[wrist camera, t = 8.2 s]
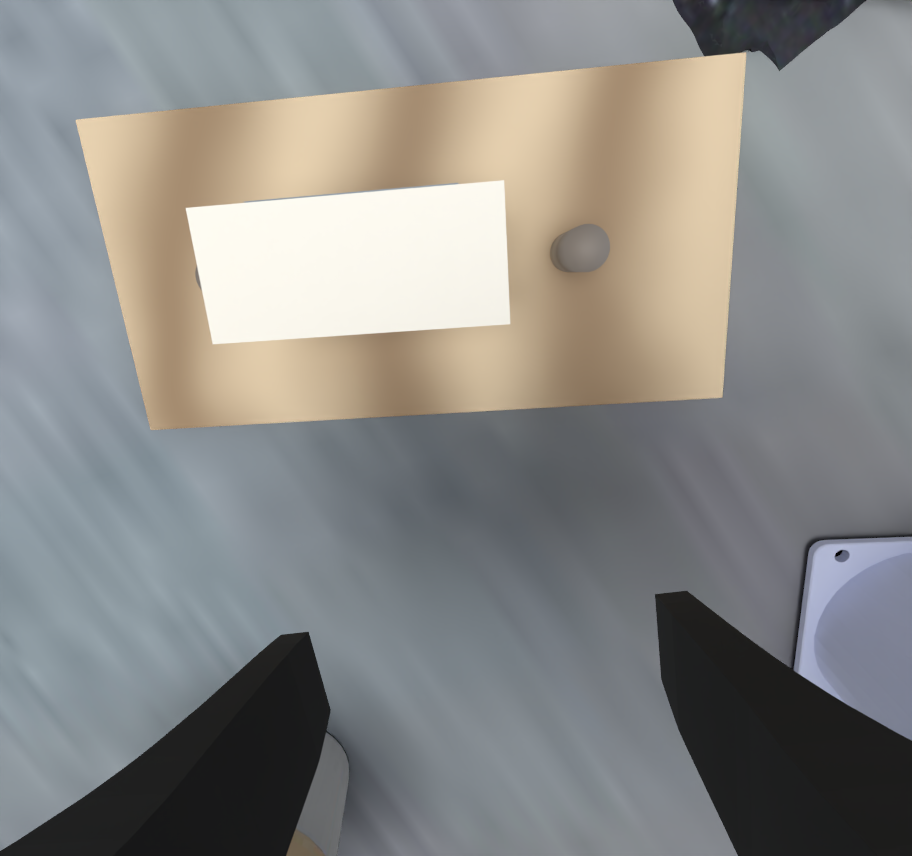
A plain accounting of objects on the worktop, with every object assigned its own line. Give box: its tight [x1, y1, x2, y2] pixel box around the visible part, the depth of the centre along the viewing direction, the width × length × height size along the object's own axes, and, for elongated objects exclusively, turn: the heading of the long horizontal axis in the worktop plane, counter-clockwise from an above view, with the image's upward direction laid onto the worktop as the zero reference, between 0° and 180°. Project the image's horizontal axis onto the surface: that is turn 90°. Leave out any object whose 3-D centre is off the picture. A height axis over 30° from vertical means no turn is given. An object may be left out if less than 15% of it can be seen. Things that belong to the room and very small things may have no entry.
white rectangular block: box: [186, 180, 510, 344], centre depth 14 cm, size 7×3×6 cm, turn 94°
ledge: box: [76, 52, 746, 430], centre depth 16 cm, size 20×10×4 cm, turn 94°
